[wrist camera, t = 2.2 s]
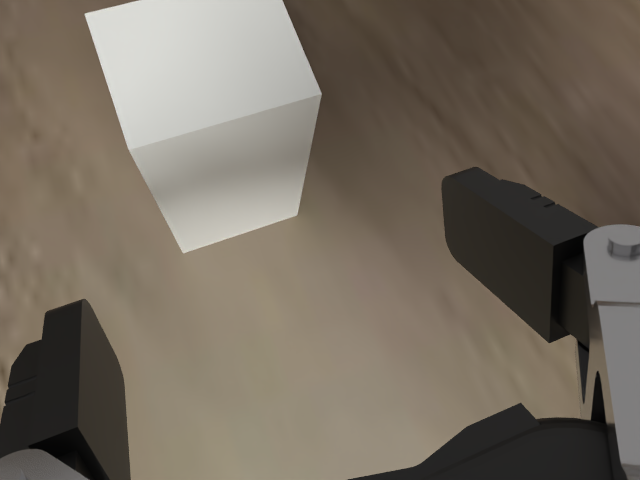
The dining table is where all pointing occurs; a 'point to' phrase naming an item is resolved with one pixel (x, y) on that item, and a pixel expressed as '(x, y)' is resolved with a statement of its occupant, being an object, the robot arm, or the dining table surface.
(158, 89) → the block
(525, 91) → the dining table surface
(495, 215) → the robot arm
